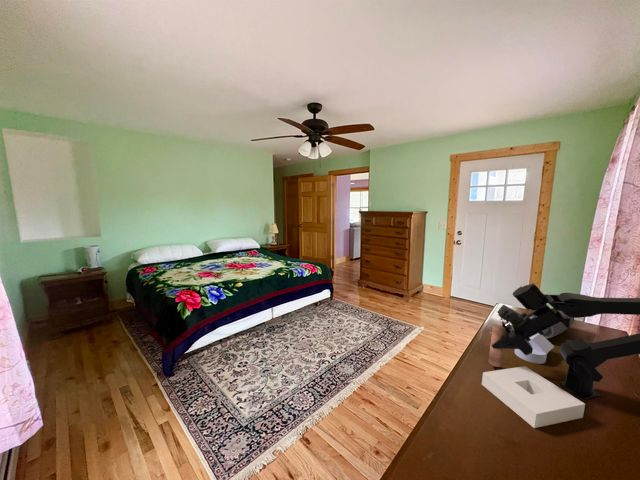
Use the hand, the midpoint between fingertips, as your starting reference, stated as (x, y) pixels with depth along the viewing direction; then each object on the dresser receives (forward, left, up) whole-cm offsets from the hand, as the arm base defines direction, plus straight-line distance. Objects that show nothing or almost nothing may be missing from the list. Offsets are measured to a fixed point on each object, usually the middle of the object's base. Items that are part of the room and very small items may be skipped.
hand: (491, 344), depth 87 cm
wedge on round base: (-22, -3, -8) cm, 24 cm away
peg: (-1, +1, -7) cm, 7 cm away
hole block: (+2, +15, -8) cm, 17 cm away
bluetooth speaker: (-46, -14, -8) cm, 49 cm away
